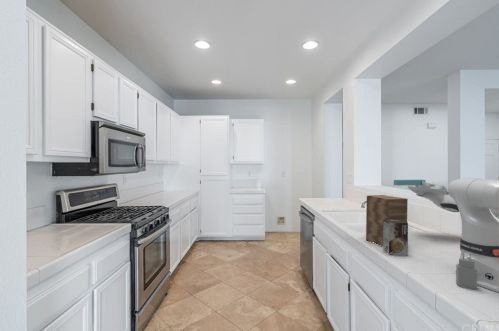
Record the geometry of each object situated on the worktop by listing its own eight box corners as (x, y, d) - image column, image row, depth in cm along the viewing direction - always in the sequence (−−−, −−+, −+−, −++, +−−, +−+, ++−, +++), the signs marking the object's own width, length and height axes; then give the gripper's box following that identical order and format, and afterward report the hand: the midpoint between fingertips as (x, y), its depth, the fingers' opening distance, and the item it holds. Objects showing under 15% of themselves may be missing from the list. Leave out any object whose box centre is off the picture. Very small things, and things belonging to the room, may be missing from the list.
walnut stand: (406, 247, 131) (407, 198, 131) (389, 249, 127) (390, 199, 127) (382, 238, 146) (382, 195, 146) (365, 240, 142) (366, 195, 142)
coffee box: (401, 251, 124) (401, 219, 124) (408, 256, 118) (408, 222, 118) (382, 250, 125) (383, 219, 125) (388, 255, 119) (388, 222, 119)
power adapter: (455, 282, 92) (456, 250, 92) (474, 286, 89) (475, 253, 89) (457, 286, 89) (458, 253, 89) (477, 290, 86) (478, 256, 86)
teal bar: (425, 185, 144) (425, 179, 144) (398, 185, 137) (398, 180, 137) (420, 184, 146) (420, 179, 146) (393, 185, 140) (393, 179, 140)
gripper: (449, 199, 137) (434, 188, 134) (414, 195, 157) (400, 184, 153) (453, 190, 138) (438, 178, 134) (418, 186, 158) (404, 176, 154)
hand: (418, 181), depth 144 cm, fingers closed on teal bar, 3 cm apart
